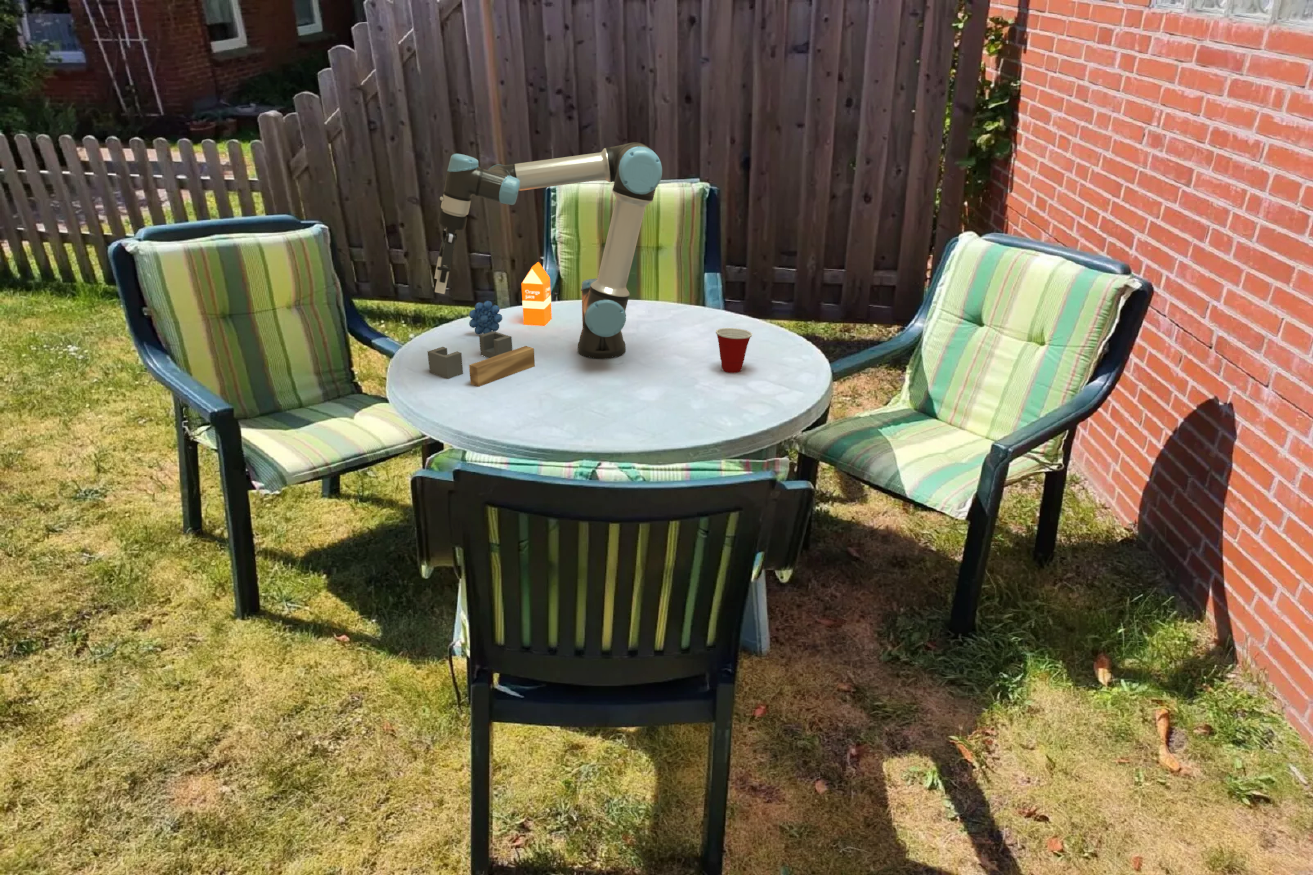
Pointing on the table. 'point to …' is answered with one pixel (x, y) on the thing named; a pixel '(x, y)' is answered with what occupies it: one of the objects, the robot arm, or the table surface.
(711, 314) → the table surface
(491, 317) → the grapes
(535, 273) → the orange juice
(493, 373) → the slat
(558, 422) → the table surface
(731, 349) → the plastic cup
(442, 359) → the end caps
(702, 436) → the table surface
